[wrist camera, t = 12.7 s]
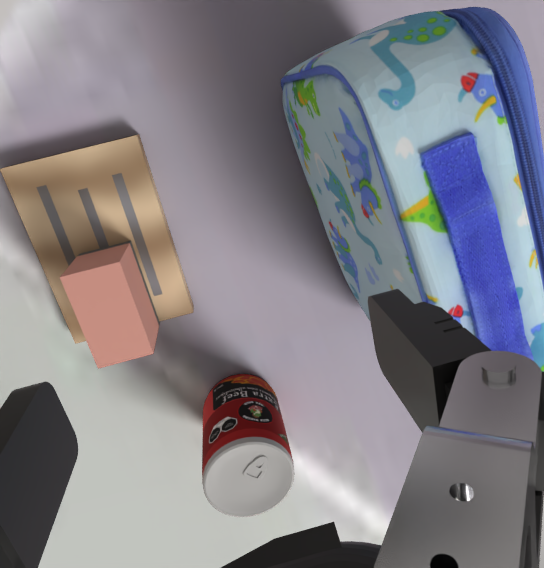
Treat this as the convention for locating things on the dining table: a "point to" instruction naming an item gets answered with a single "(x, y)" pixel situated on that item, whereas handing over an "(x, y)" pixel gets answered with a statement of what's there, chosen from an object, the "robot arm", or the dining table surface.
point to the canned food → (245, 448)
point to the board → (98, 218)
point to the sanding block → (112, 304)
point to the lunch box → (431, 168)
